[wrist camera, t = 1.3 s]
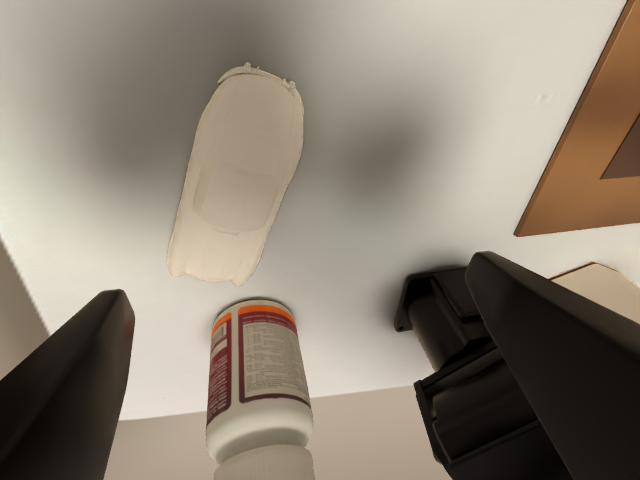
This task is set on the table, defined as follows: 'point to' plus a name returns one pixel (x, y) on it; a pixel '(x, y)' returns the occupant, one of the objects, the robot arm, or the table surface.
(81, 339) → the robot arm
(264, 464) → the pill bottle
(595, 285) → the cup
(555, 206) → the cork mat
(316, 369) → the table surface
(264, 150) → the toy car
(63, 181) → the table surface
